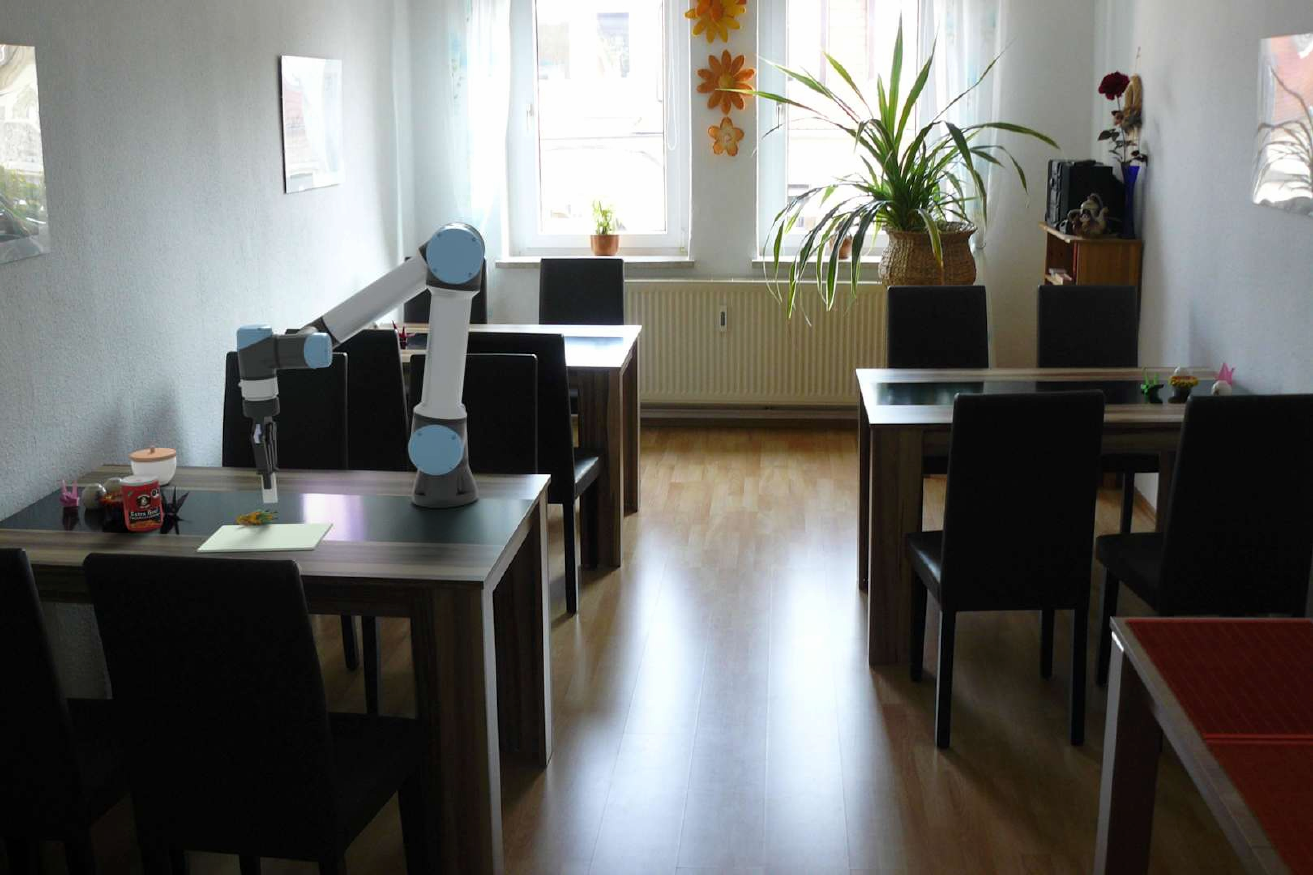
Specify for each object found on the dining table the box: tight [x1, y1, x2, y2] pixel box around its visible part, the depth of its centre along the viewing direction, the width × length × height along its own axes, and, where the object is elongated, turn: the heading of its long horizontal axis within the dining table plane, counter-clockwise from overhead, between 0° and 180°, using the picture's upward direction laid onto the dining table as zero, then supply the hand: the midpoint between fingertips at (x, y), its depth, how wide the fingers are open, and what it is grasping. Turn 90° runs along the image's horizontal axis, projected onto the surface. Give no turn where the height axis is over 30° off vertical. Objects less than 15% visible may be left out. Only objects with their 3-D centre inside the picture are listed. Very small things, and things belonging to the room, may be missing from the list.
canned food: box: [120, 474, 164, 532], centre depth 282 cm, size 8×8×11 cm
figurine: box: [235, 508, 280, 526], centre depth 282 cm, size 3×12×8 cm
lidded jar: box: [129, 445, 177, 487], centre depth 318 cm, size 11×11×9 cm
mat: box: [196, 522, 334, 553], centre depth 273 cm, size 24×17×1 cm
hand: (270, 501), depth 282 cm, fingers closed
